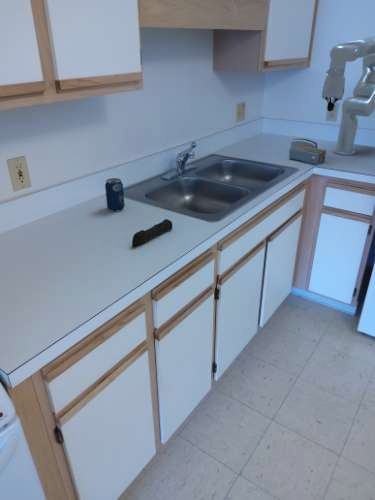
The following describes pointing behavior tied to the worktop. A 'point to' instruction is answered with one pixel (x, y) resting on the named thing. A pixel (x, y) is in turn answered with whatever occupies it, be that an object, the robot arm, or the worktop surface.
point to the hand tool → (150, 233)
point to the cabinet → (313, 150)
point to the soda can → (114, 194)
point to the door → (304, 156)
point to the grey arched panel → (304, 143)
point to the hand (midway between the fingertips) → (329, 110)
